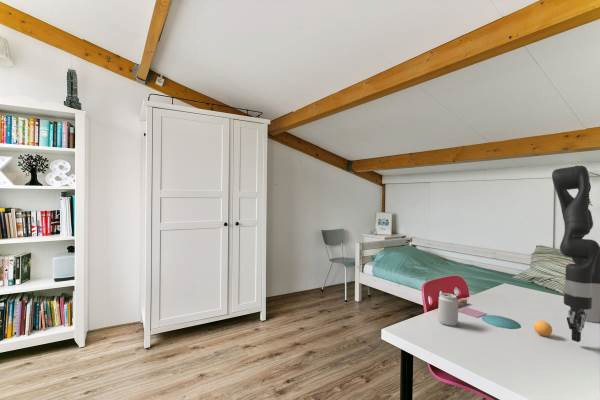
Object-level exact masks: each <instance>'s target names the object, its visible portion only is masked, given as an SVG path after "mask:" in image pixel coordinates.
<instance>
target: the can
mask: <svg viewBox="0 0 600 400" xmlns="http://www.w3.org/2000/svg"><path fill="white" fill-rule="evenodd" d="M458 299H459V298H457V296H456V295H455V294H453V293H448V292H443V293H440V295H439V296H438V309H437V310H438V311H437V313H438V314H437V315H438V316H437V320H438V322H439V323H440V324H442V325H443V326H447V327H455V326H456V325H458V323H459V312H458V310H459V307H458Z"/></svg>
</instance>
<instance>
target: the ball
mask: <svg viewBox="0 0 600 400" xmlns="http://www.w3.org/2000/svg"><path fill="white" fill-rule="evenodd" d="M533 325H534V330H535V332H536V333H537V334H538V335H540V336H542V337H548V336H550V335H552V333H553V328H552V327H553V326H551V325H550V323H548V322H547V321H544V320H538V321H535V323H534V324H533Z"/></svg>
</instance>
